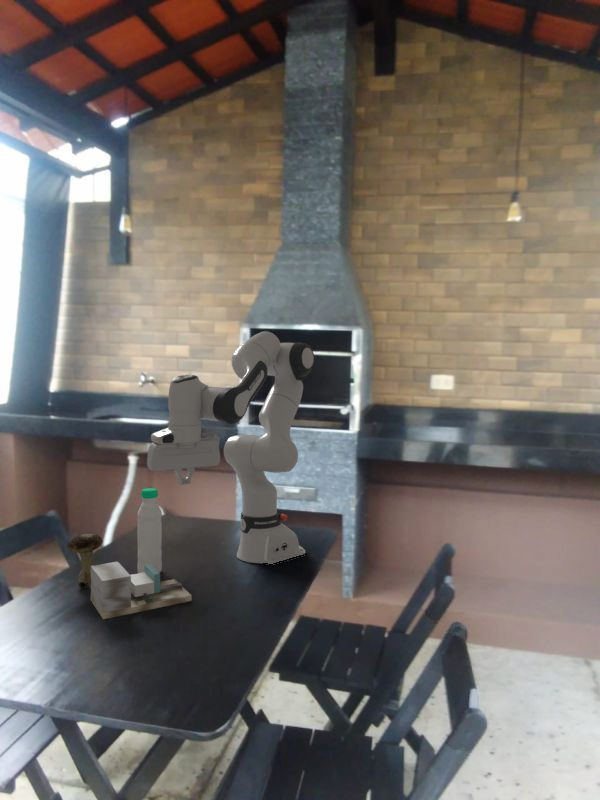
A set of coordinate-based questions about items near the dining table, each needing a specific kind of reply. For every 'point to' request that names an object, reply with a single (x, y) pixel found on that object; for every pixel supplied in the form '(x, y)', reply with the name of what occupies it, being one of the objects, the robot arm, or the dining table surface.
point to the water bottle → (149, 531)
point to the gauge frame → (129, 592)
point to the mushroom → (85, 555)
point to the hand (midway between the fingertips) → (184, 484)
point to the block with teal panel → (145, 582)
